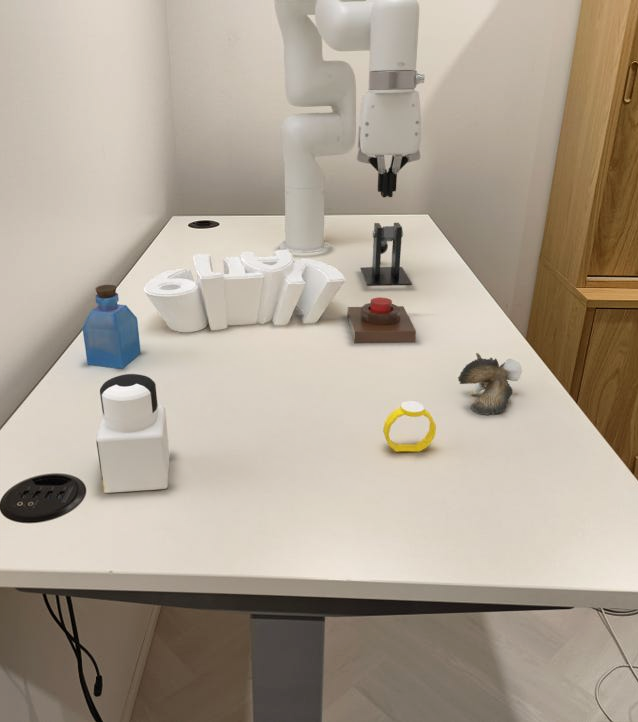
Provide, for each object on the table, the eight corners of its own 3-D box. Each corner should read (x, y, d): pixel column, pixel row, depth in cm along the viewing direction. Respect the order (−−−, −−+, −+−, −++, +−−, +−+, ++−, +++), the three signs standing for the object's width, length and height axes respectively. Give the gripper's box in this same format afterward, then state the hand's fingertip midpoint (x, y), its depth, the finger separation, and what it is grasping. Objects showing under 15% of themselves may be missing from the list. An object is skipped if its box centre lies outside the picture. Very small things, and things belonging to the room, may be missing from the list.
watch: (385, 457, 81) (388, 413, 78) (380, 444, 83) (383, 401, 81) (435, 454, 81) (439, 410, 78) (428, 442, 83) (432, 399, 81)
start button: (368, 306, 118) (369, 297, 117) (389, 306, 117) (390, 297, 117) (371, 314, 114) (371, 304, 114) (392, 313, 114) (393, 304, 113)
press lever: (372, 255, 150) (371, 241, 150) (386, 255, 150) (386, 241, 150) (381, 239, 137) (380, 224, 137) (396, 239, 137) (396, 224, 137)
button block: (347, 318, 123) (348, 297, 121) (402, 317, 123) (404, 296, 121) (354, 343, 112) (355, 321, 110) (415, 343, 112) (416, 320, 110)
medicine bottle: (110, 459, 82) (98, 369, 77) (169, 455, 82) (161, 365, 77) (103, 494, 75) (89, 398, 70) (167, 489, 76) (158, 394, 71)
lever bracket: (360, 272, 148) (362, 219, 143) (401, 272, 148) (405, 218, 143) (367, 290, 137) (369, 232, 133) (411, 289, 137) (415, 231, 132)
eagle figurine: (457, 372, 98) (443, 387, 91) (491, 337, 95) (479, 348, 87) (498, 408, 97) (487, 426, 89) (534, 373, 93) (526, 389, 86)
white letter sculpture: (331, 298, 133) (332, 246, 129) (347, 329, 118) (349, 271, 114) (152, 307, 131) (147, 253, 127) (145, 339, 116) (139, 280, 112)
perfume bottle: (140, 353, 111) (133, 283, 106) (122, 369, 105) (113, 295, 100) (107, 349, 113) (98, 280, 108) (87, 364, 107) (77, 292, 102)
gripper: (432, 81, 114) (424, 191, 122) (344, 83, 115) (341, 193, 122) (442, 82, 108) (434, 198, 115) (348, 85, 108) (345, 201, 115)
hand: (386, 195), depth 119 cm, fingers closed
